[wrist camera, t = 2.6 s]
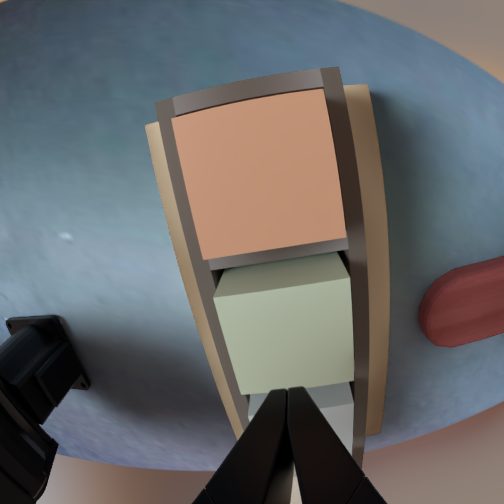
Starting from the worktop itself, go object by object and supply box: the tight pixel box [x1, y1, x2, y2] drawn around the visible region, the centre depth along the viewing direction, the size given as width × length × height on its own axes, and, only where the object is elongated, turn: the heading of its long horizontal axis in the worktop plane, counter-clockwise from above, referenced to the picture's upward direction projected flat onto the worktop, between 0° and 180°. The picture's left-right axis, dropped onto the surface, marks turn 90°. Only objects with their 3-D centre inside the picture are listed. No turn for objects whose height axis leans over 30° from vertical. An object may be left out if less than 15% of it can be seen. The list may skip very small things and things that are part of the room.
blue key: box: [248, 382, 354, 455], centre depth 13 cm, size 4×4×3 cm
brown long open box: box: [145, 67, 390, 470], centre depth 14 cm, size 10×21×6 cm, turn 11°
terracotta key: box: [171, 89, 346, 260], centre depth 9 cm, size 4×4×3 cm
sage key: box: [213, 251, 354, 395], centre depth 11 cm, size 4×4×3 cm
